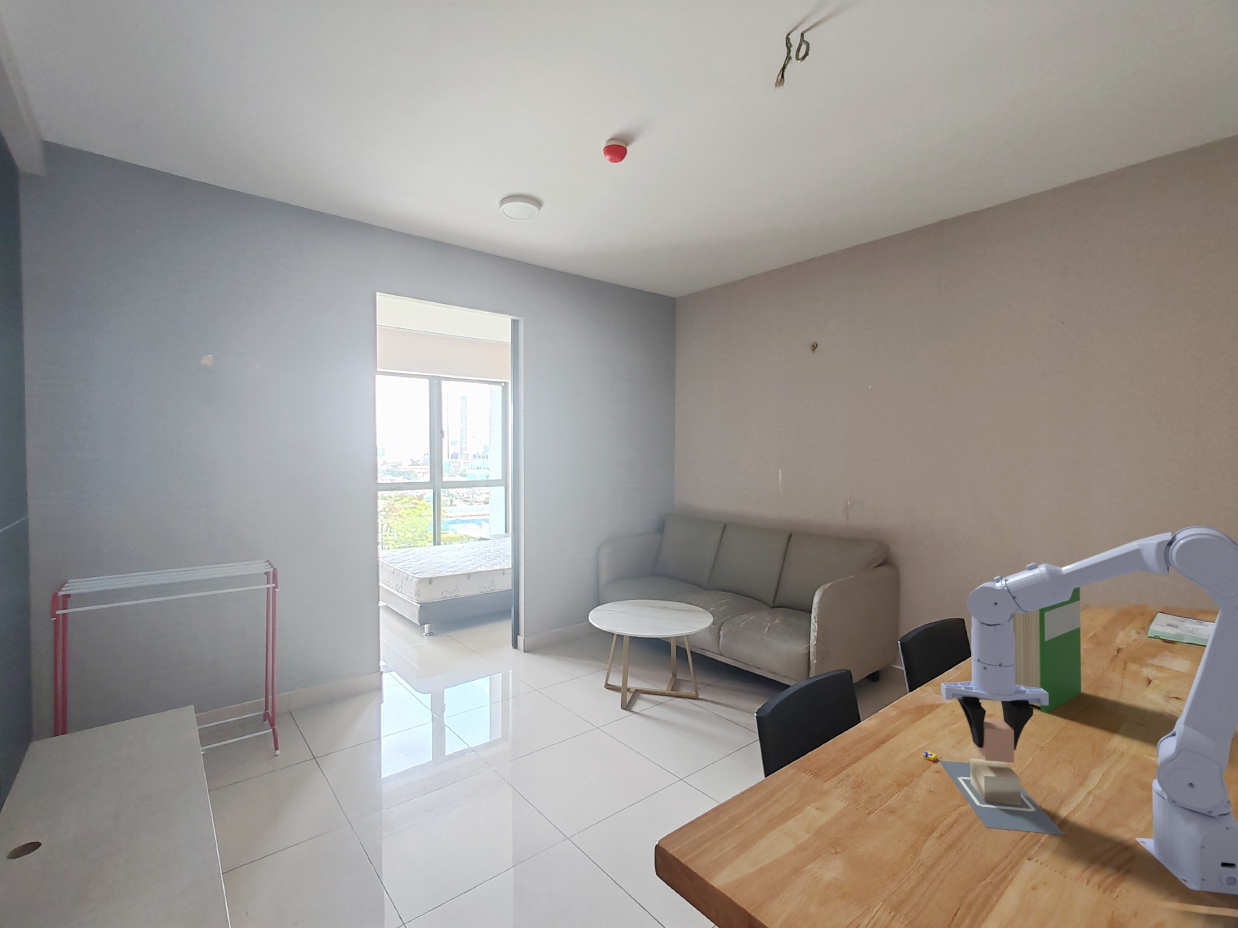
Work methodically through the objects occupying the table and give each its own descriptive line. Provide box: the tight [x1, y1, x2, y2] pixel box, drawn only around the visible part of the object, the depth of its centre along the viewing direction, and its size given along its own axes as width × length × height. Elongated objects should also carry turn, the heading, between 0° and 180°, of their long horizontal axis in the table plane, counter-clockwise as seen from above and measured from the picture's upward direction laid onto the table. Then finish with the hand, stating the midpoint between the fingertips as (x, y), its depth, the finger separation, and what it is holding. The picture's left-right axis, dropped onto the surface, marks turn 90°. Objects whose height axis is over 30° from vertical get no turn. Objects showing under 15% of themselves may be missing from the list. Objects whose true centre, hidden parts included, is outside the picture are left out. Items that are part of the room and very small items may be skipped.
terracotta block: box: [973, 716, 1015, 763], centre depth 88 cm, size 4×4×5 cm
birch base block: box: [969, 758, 1022, 805], centre depth 88 cm, size 5×5×4 cm
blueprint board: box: [938, 760, 1066, 836], centre depth 88 cm, size 18×10×1 cm, turn 169°
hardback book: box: [1011, 587, 1082, 714], centre depth 124 cm, size 18×7×24 cm, turn 122°
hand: (994, 745), depth 88 cm, fingers closed on terracotta block, 4 cm apart
